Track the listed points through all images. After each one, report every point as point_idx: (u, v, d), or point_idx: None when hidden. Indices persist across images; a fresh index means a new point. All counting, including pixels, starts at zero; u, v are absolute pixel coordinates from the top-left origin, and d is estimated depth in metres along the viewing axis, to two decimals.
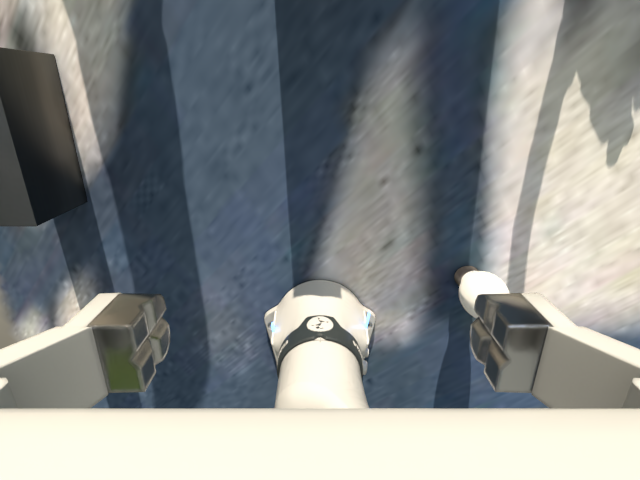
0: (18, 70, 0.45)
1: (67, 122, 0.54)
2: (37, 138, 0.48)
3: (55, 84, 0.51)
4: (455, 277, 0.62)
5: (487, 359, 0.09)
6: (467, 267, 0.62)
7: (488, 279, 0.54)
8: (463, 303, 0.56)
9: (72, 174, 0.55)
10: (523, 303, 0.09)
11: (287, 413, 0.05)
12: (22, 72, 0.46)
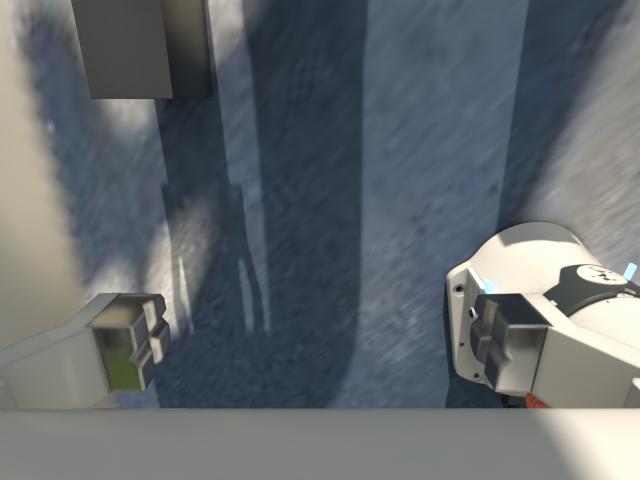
0: None
1: None
2: None
3: None
4: None
5: (487, 359, 0.09)
6: None
7: None
8: None
9: (201, 42, 0.35)
10: (523, 303, 0.09)
11: (287, 413, 0.05)
12: None
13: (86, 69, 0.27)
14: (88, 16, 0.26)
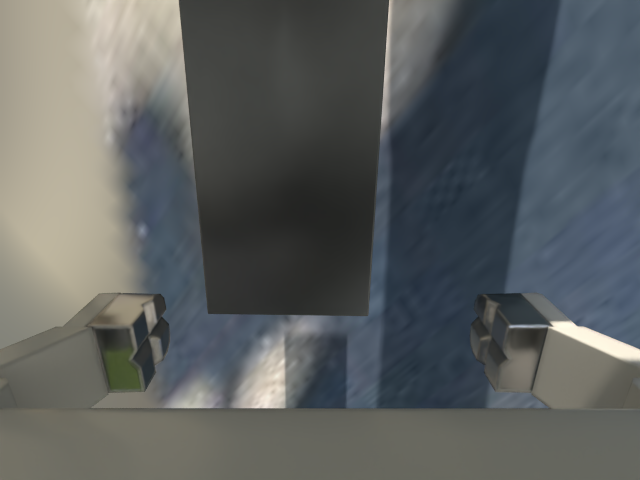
0: None
1: None
2: None
3: None
4: None
5: (487, 359, 0.09)
6: None
7: None
8: None
9: None
10: (523, 303, 0.09)
11: (287, 413, 0.05)
12: None
13: (206, 266, 0.14)
14: (224, 174, 0.13)
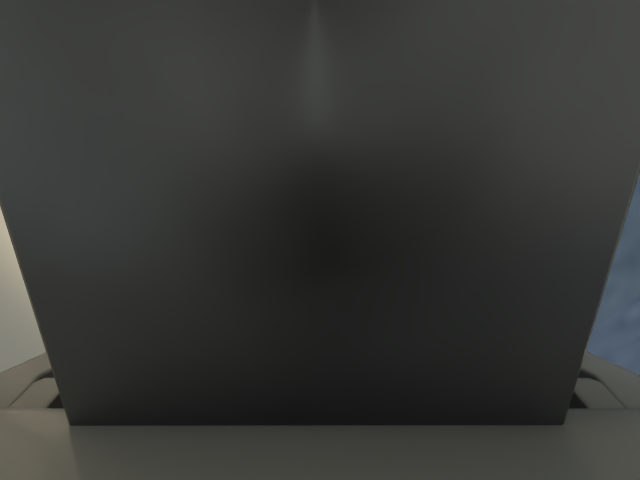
0: None
1: None
2: None
3: None
4: None
5: None
6: None
7: None
8: None
9: None
10: None
11: None
12: None
13: None
14: None
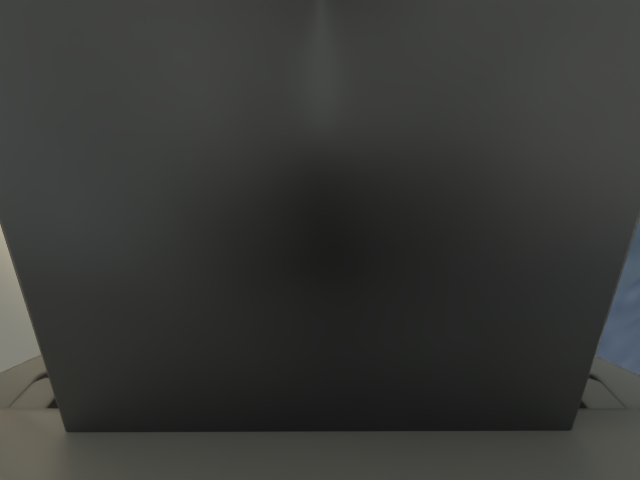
0: None
1: None
2: None
3: None
4: None
5: None
6: None
7: None
8: None
9: None
10: None
11: None
12: None
13: None
14: None
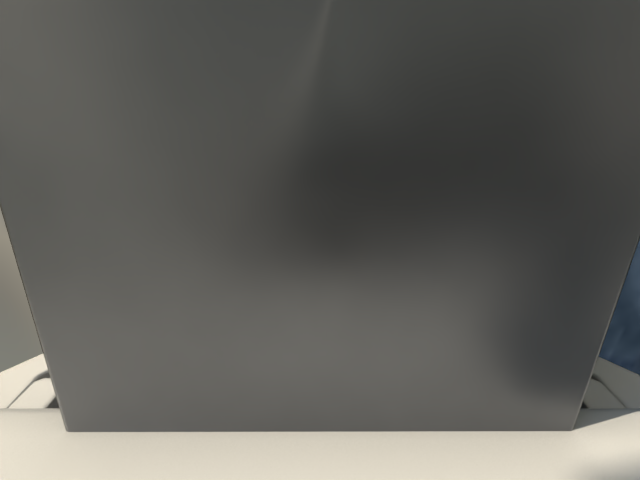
0: None
1: None
2: None
3: None
4: None
5: None
6: None
7: None
8: None
9: None
10: None
11: None
12: None
13: None
14: None
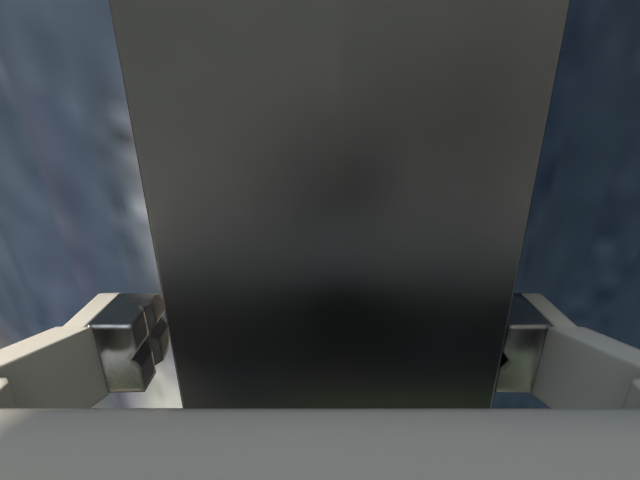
0: None
1: None
2: None
3: None
4: None
5: None
6: None
7: None
8: None
9: None
10: (523, 303, 0.09)
11: (287, 413, 0.05)
12: None
13: None
14: (229, 381, 0.07)
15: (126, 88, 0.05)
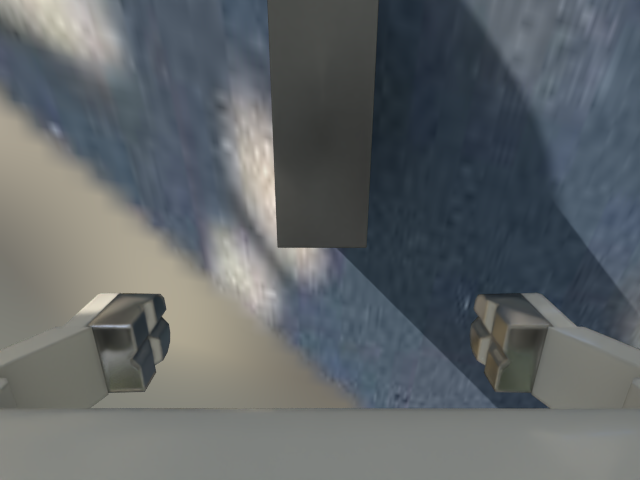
0: None
1: None
2: None
3: None
4: None
5: (487, 359, 0.09)
6: None
7: None
8: None
9: None
10: (523, 303, 0.09)
11: (287, 413, 0.05)
12: None
13: (278, 220, 0.25)
14: (289, 170, 0.24)
15: (271, 82, 0.22)
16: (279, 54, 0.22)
